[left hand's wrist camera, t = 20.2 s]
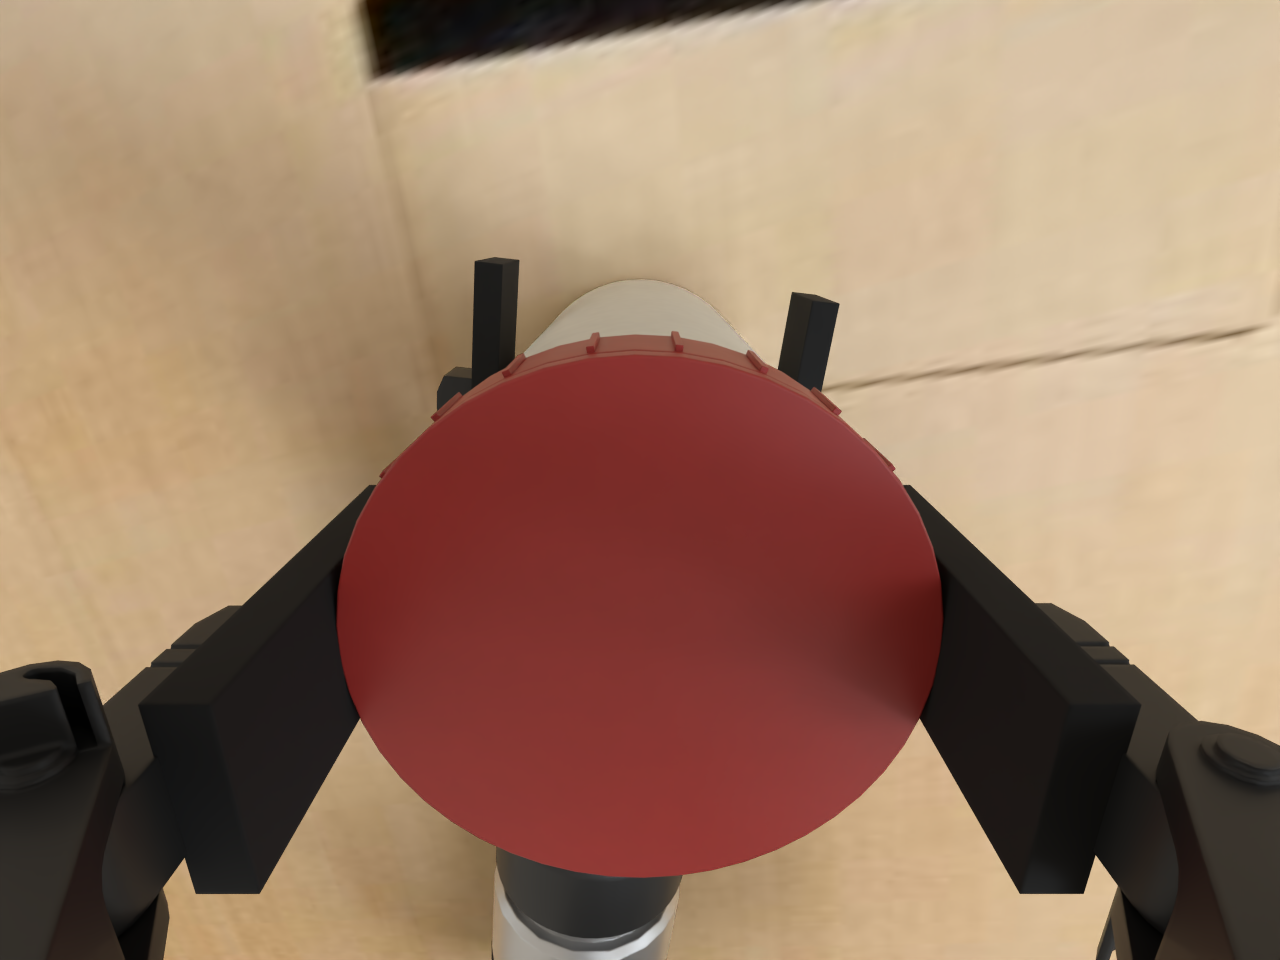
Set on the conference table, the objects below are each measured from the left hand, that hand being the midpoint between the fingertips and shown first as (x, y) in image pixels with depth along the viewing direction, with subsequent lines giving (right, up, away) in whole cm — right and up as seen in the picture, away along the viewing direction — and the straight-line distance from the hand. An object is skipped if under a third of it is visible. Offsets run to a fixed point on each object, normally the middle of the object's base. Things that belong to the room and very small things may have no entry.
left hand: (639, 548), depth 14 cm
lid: (0, -1, -3) cm, 3 cm away
